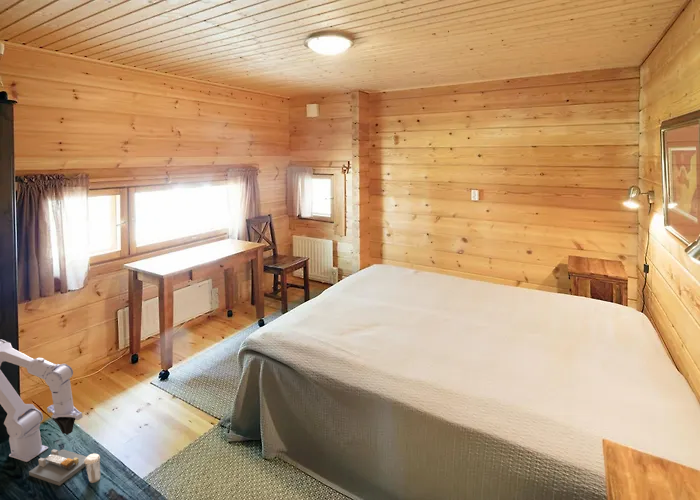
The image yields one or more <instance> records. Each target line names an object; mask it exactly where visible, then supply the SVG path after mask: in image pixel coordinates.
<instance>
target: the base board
mask: <svg viewBox="0 0 700 500" xmlns="http://www.w3.org/2000/svg"><path fill="white" fill-rule="evenodd" d="M50 454H55V455H58V456H61V457H64V458H70V459H73V462H74V463H72V464H71V465H69V466H68V467H67V468H64V467H61V466H58V465H56V464H53V463H50V462H47V461H46V460H45V459H44V458H45V457H40V458H38V465H37V466H35V467H34V468H32V469H31V470H29V471H28V474H29V476H30V477H32V478H37V479H39V480H42V481H44V482H47V483H50V484H53V485H56V486H59V487H60V486H61V485H62V484H64V483H65V482H67V481H69V480H70V478H72V477H73V476H75V475H76V474H77V473H78V472H79V471H81V470H83V469H84V468H86V467H85V463H84V460H85V458H86V457H87V456H86V455H83V454H79V453H76V452H73V451H69V450H68V449H67V450H66V449H63V448H62V449H60V450H58V449H54V448H53V449H52V450H51V453H50Z"/></svg>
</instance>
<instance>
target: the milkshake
mask: <svg viewBox="0 0 700 500" xmlns="http://www.w3.org/2000/svg"><path fill="white" fill-rule="evenodd" d="M84 463H85V467H84V468H85V469H86V473H87V477H88V481H89V483H91V484H93V483H96V482H99V481H100V480H101V455H100V454H98V453H90V454H89V455H87V456H86V458H85V460H84Z"/></svg>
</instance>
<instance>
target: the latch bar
mask: <svg viewBox="0 0 700 500" xmlns="http://www.w3.org/2000/svg"><path fill="white" fill-rule="evenodd" d="M43 458H44V459H45V460H46V461H47V462H50V463H53V464H56V465H58V466H61V467H64V468H67V467H68V466H69V465H71V464H72V463H74V462H73V459H70V458H64V457H61V456H58V455H55V454H52V453H50V454H49V455H47V456H46V457H43Z"/></svg>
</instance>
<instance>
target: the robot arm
mask: <svg viewBox="0 0 700 500" xmlns="http://www.w3.org/2000/svg"><path fill="white" fill-rule="evenodd" d="M4 362H7V363H10V364H13V365H16V366H19V367H23V368H26V371H27V373H28V374H30V375H32V376H35V377H37V378H39V379H42V380H44V382H45V383H46V385H47V386H48V387H49V391H50V392H51V400H52V404H51V405H49V406H48V407H46V410H47V413H51V414H52V415H51V418H52V421H53V422H55V424H57V426H58V428H59V429H60V431H61V433H62V434H63V435H66V436H68V435H69V434H71V433H73V428H74V426H75V422H76V421H79V420H80V419H82V418H83V412H81V411H80V410H78V409H77V408H76V407H75V406H74V398H73V392H72V383H71V378H72V377H73V375H74V369H73V368H72V367H71V366H70V365H68V364H67V363H61V364H59V363H57V364H56V363H54V362H51V361H49V360H47V359H45V358H43V357H37V358H33V357H30V356H28V355H27V354H25V353H23V352H21V351H19V350H17V349H15V348H13V346H12V343H11V342H9V341H6V340H5V339H0V367H1V366H2V363H4ZM0 405H1V407H2V408H3V410H4V411H5V412H6V414H7V415H6V417H5V419H4V422H3V425H4V426H5V427H6V432H7V434H8V435H9V437H8V442H9V447H10V453H9V455H8V456H9V457H10V458H14V459H16V460H20V461H22V462H26V463H27V462H29V461H31V460H32V459H34V458H35V457H37V456H39V455H40V454H42V453H44V452H45V451H47V449H49V447H48V446H47V445H43V443H42V438H41V431H40V430H41V429H40V426H41V423H42V421H43V420H44V415H43V412H42V411H41V410H39V409H38V408H37V407H36V406H35V405H34V404H33V403H25V402H24V400H23V399H22V398H21V397H20V395H19V394H18V392H17V391H16V390H15V388H14V387H13V385H12V384H11V383H10V381H9V380H8V378H7V377H6V376H5V374H4V373H3V371H2V370H1V369H0Z"/></svg>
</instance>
